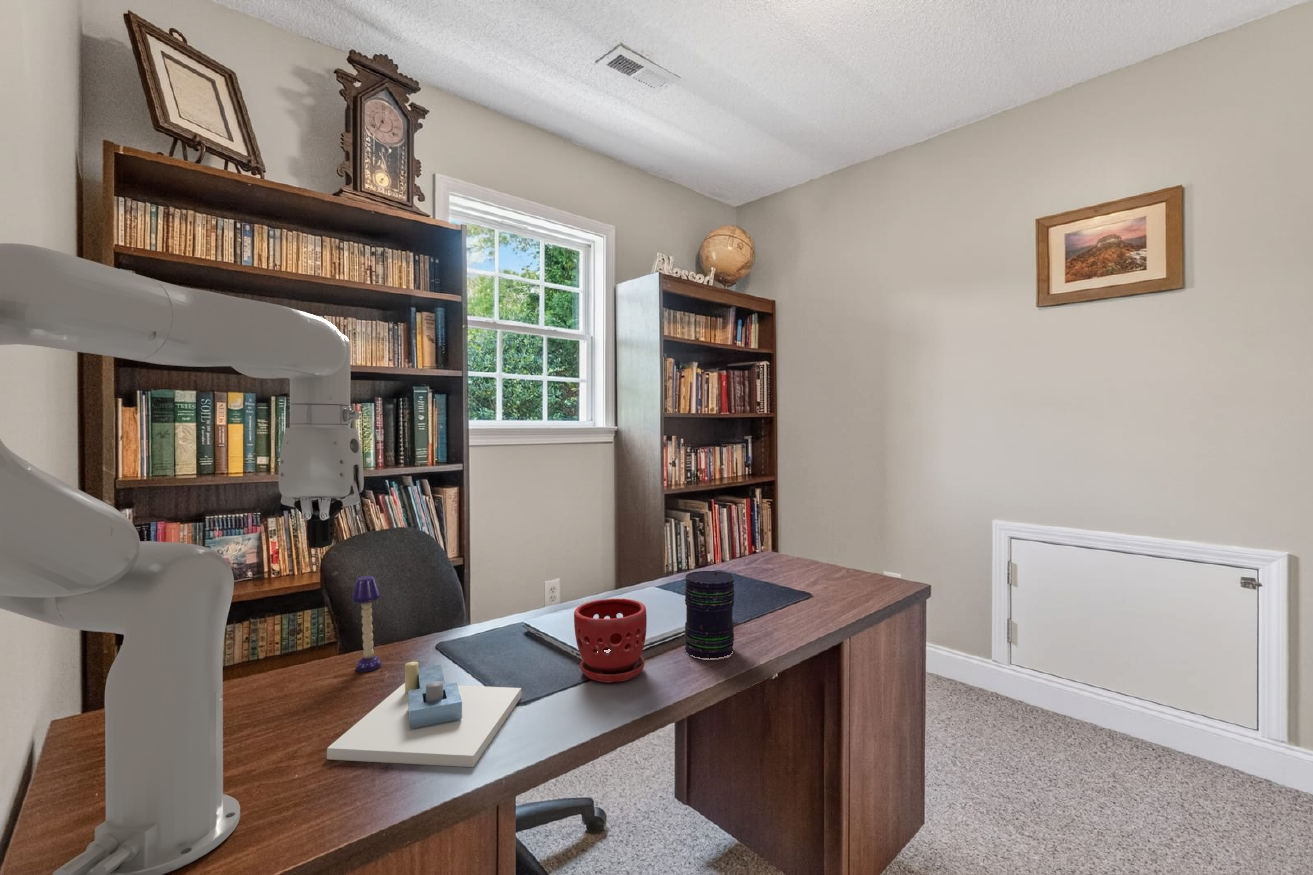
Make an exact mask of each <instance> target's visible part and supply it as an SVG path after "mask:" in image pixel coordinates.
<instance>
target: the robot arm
mask: <svg viewBox="0 0 1313 875" xmlns="http://www.w3.org/2000/svg"><path fill="white" fill-rule="evenodd" d="M9 345H22V346H23V345H25V346H26V345H27V346H34V347H35V346H36V347H42V348H43V347H44V348H52V349H56V350H63V351H72V352H75V353H76V352H77V353H78V352H79V353H83V354H85V353H86V354H94V355H100V356H107V357H114V358H119V359H125V360H131V361H137V362H145V363H149V364H156V365H166V366H178V367H203V368H205V367H207V368H208V367H231V368H233V369H234V370H235V371H237V372H238V373H241V374H242V375H245V376H247V377H251V378H256V379H288V380H289V427H285V429H284V433H283V437H282V442H281V447H280V454H279V463H278V489H279V493H280V494H281V499H280V504H282V505H284V506H288V507H291V508H295V509H297V510H298V511H299V512H300V514H302V518H303V519H304V520H305V521H306V526H307V527H306V534H307V535H306V538H307V541H308V548H309V549H315V548H317V549H323V548H326V547H329V546H331V545H332V544H333V540H334V539H335V518H336V517H339V516H338V515H339V513H340V512H342V511H343V510H344V509H345V508H347V507H350V506H351V507H352V506H355V505H359V504H360V503H361V497H360V493H362V492H363V490H364V487H365V486H364V484H365V479H364V478H365V476H364V464H363V463H364V462H363V461H364V460H363V453H362V448H361V443H360V442H361V441H360V437H359V434H358V432H359V431H358V430H357V428H353V427H351V425H352V424H353V422H352V421H355V420H356V421H357V420H359V418H360V412H359V410H357V409H356V410H354V409H353V408H352V405H351V384H352V383H351V381H352V380H351V376H352V375H351V369H352V368H351V366H352V364H351V355H352V354H351V343H350V340H349V338H348V337H347V336H346V335H345V334H343V333H341V332H340V330H339V329H338V327H337V326H335V325H334V324H333V323H331V322H330V321H329V320H326V319H324V317H321V316H318V315H314V314H311V313H308V312H306V311H301V310H299V309H295V308H291V307H289V306H286V305H285V306H284V305H280V304H275V303H270V302H265V301H259V300H254V299H249V298H243V297H238V296H232V295H228V294H224V293H223V294H222V293H217V292H213V291H210V290H209V291H208V290H203V289H198V288H191V287H186V286H180V285H177V284H172V283H170V282H165V281H161V280H158V279H155V278H151V277H147V276H144V275H141V274H137V273H134V272H131V271H126V270H124V269H119V268H117V267H113V266H109V265H108V264H103V263H99V262H98V261H97V262H96V261H94V260H93V261H92V260H90V259H87V258H86V259H85V258H82V257H79V256H76V255H72V254H69V253H65V252H61V251H59V250H54V249H50V248H47V247H42V246H37V245H33V244H24V243H11V242H10V243H8V242H7V243H5V242H4V243H0V346H9ZM234 587H235V578H234V573H233V569H232V567H231V566H230V564H229V562H228V561H227V560H226V558H225V557H224V556H222V555H221V554H220V553H218V552H217V551H215V550H213V549H212V548H209V547H206V546H203V545H199V544H194V543H186V542H175V541H174V542H173V541H169V542H168V541H153V540H147V541H145V540H144V541H143V540H142V541H141V539H140V534H139V533H138V531H137V529H136V527H135V526H134V524H133V522H132V521H131V520H130V519H129V518H128V517H127V516H126V515H125V514H124V513H122V512H121V511H120V510H118V509H116V507H114V506H112V505H110V504H109V503H107V502H104V501H102V500H101V499H99V498H96V497H94V496H93V495H91V494H88V493H86V492H85V491H83V490H81V489H79V488H77V487H75V486H73V485H70V484H69V483H66V482H65V481H63V480H61V479H60V478H57V477H55V476H54V475H51V474H49V473H48V472H45V471H44V470H42V469H40V468H39V467H37V466H36V465H34V464H32V463H31V462H29V461H27V460H25V459H24V458H22V457H20V456H19V455H18V454H16V453H15V452H13V451H12V450H11V449H10V448H8V447H7V446H6V445H5V444H4V443H3V441H2V440H1V439H0V609H1V610H5V611H8V612H11V613H14V614H17V615H20V616H24V617H26V618H30V619H34V620H37V621H38V622H43V623H46V624H50V625H53V626H58V627H61V628H64V629H65V628H66V629H70V630H77V631H86V632H99V633H100V632H101V633H109V634H110V633H112V634H113V633H114V634H116V635H117V634H118V635H123V640H122V645H121V646H120V649H119V650H118V653H117V655H116V657H115V659H114V661H113V662H112V664H111V667H110V669H109V672H108V674H107V676H106V682H105V687H104V688H105V689H104V711H105V712H104V716H105V720H104V725H105V726H104V727H105V729H104V730H105V731H104V732H105V734H104V736H105V737H104V738H105V740H104V741H105V743H104V744H105V745H104V746H105V747H104V748H105V755H104V756H105V760H104V761H105V820H104V821H102V822H101V823H99V824H98V825H97V826H95V827H94V840H93V841H92V842H90V843H89V844H88V845H87V847H86V849H85V851H83V852H82V853H81V854H79V855H76V856H75V857H74V858H71V860H70V859H69V861H68V862H66V863H64V864H62V866H60V867H59V868H57V869H56V870H54V871H53V873H52V874H51V875H165V874H168V873H171V872H173V871H175V870H178V869H180V868H183V867H184V866H187V865H189V864H191V863H192V862H194V861H196V860H199V858H202V857H203V856H205V855H207V854H208V853H210V852H211V851H212V850H214V849H216V848H217V847H218V846H219V845H221V844H222V843H223V842H224V841H225V840H226V839H228V837H229V836H230V835H231V834H232V833H233V832H234V831H235V829H236V828H237V826H238V824H239V822H240V818H241V805H240V803H239V801H238V800H237V799H236V798H234V797H232V796H231V795H228V794H224V751H223V750H224V729H223V728H224V718H223V717H224V716H223V715H224V709H223V708H224V696H223V695H224V692H223V690H224V688H223V687H224V686H223V685H224V684H223V683H224V681H223V677H224V676H223V674H224V673H223V662H224V660H223V659H224V639H225V633H226V628H227V621H228V616H229V612H230V609H231V608H230V607H231V604H232V601H233V600H232V599H233V594H234Z"/></svg>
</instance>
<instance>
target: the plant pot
mask: <svg viewBox="0 0 1313 875" xmlns="http://www.w3.org/2000/svg"><path fill="white" fill-rule="evenodd" d="M646 607H647V606H646V605H645V604H643V603H642V602H640V601H639V600H635V599H629V598H604V599H598V600H591V601H588V602H585V603H582V604H581V605H579V606H577V607H576V608H575V610H574V612H573V623H574V624H573V627H574V635H575V636H574V637H575V641H576V646H577V649H578V652H579V655H580V656H581V659H582V660H581V661H580V664H579V666H580V670H581V672H582V673H583V675H584V676H586V677H587V678H588V679H590V680H593V681H597V682H601V683H604V684H608V683H618V682H624V681H628V680H630V679H633V678H634V677H635V678H636V677H637V676H638V675H639V674H640V673H641V672H643V670H644V667H645V664H646V662H645V659H644V657H643V656H642V654H643V650H644V647H645V642H646V637H647V627H648V626H647V622H648V620H647V608H646ZM618 614H621V615H622V617H617V616H618ZM596 615H598V618H594V616H596ZM605 617H606V618H605ZM607 617H609V618H607ZM608 649H610V650H611V651H610V652H609V653H606V652H604V650H608ZM597 651H598V653H597Z"/></svg>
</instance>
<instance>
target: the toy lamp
mask: <svg viewBox="0 0 1313 875" xmlns="http://www.w3.org/2000/svg"><path fill="white" fill-rule="evenodd" d="M380 597H381V592H380V590H379V586H378V584H377V581H376V578H375V576H373V575H364V576H360V577H358V578H356V580H355V584H354V588H353V591H352V596H351V601H352V602H353V603H356V604H360V606H361V611H360V612H361V613H360V614H361V616H362V618H361V624H362V627H361V631H362V638H361V639H362V648H363V653H362V654H363V657H361V658H360V659H359V660H358V661H357V663H356V666H355V670H356V671H357V672H360V673H365V672H371V671H375V670H377V669H380V667H381V666H382V661H381V659H380V657H378V656H376V655H374V654H375V651H374V649H373V648H374V640H373V639H374V634H373V630H374V627H373V624H372V623H373V616H372V614H373V609H372V605H373V602H374V601H377V600H379V599H380Z"/></svg>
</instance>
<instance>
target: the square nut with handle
mask: <svg viewBox="0 0 1313 875" xmlns="http://www.w3.org/2000/svg"><path fill="white" fill-rule="evenodd" d="M434 681H440V682H443V699H442V700H436V701H431V702H426V685H427V684H428V683H430V682H434ZM408 712H409V726H410V729H411V728H417V727H422V726H427V725H432V724H437V723H442V722H448V721H453V720H458V719H462V700H461V696H460V693H459V689H458V683H457V682H454V683H452V682H451V683H446V681H445V677H444V673H443V668H442V664H436V665H429V666H421V667H418V689H416V690H410V691H408Z"/></svg>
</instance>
